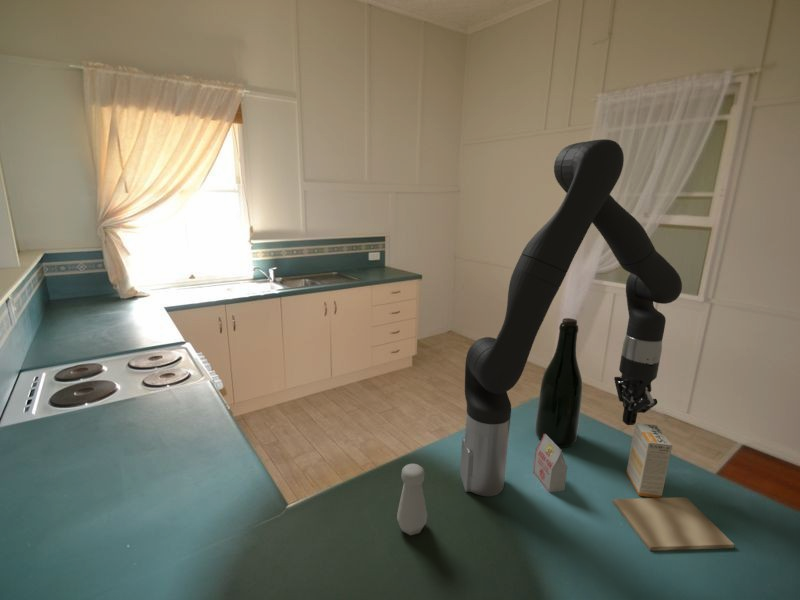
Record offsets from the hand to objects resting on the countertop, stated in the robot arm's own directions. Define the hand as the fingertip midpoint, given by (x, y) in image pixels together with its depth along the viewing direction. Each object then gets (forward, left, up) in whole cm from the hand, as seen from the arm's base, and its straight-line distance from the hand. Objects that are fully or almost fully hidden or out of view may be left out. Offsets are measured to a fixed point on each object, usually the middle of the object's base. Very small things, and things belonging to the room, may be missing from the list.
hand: (628, 423), depth 96 cm
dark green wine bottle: (-12, +11, -11) cm, 19 cm away
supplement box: (0, -8, -11) cm, 13 cm away
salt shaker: (-53, -18, -11) cm, 57 cm away
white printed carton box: (-21, -6, -11) cm, 24 cm away
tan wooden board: (-2, -19, -10) cm, 22 cm away
